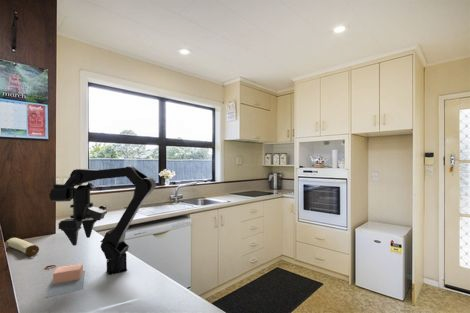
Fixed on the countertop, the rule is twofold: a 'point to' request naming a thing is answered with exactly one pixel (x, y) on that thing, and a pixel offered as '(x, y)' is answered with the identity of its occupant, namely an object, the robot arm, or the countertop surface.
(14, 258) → the countertop surface
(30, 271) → the countertop surface
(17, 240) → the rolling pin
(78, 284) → the mat
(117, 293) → the countertop surface
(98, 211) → the robot arm
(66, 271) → the card box
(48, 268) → the key
